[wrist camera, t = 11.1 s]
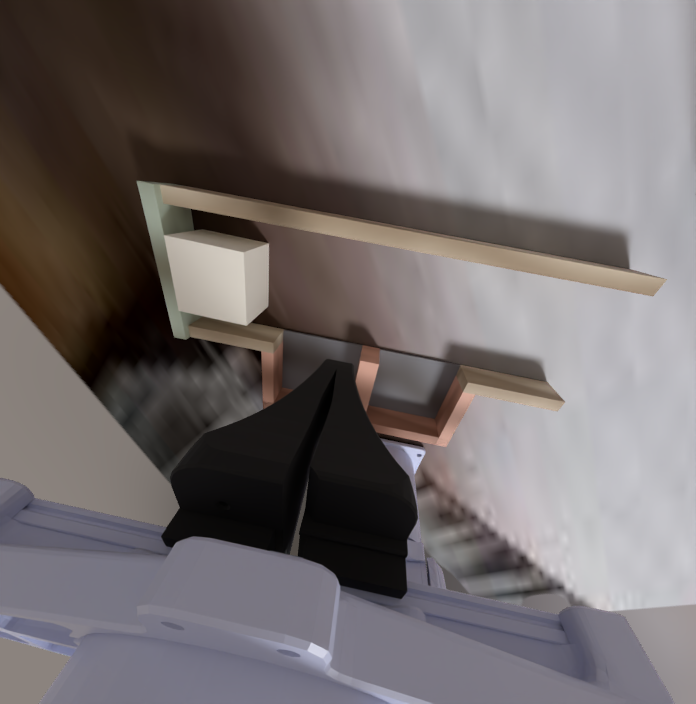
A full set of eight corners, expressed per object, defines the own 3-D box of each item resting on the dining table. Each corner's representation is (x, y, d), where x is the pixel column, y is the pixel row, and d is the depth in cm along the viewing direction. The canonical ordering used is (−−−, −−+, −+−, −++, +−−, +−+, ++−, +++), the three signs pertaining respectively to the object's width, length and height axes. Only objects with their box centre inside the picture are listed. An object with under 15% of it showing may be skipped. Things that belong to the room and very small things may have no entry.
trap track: (504, 439, 25) (518, 466, 23) (207, 378, 26) (188, 397, 24) (630, 269, 16) (675, 281, 14) (173, 183, 17) (136, 180, 15)
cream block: (268, 305, 21) (246, 325, 18) (211, 293, 21) (178, 310, 18) (269, 243, 19) (243, 252, 15) (204, 229, 19) (164, 235, 15)
